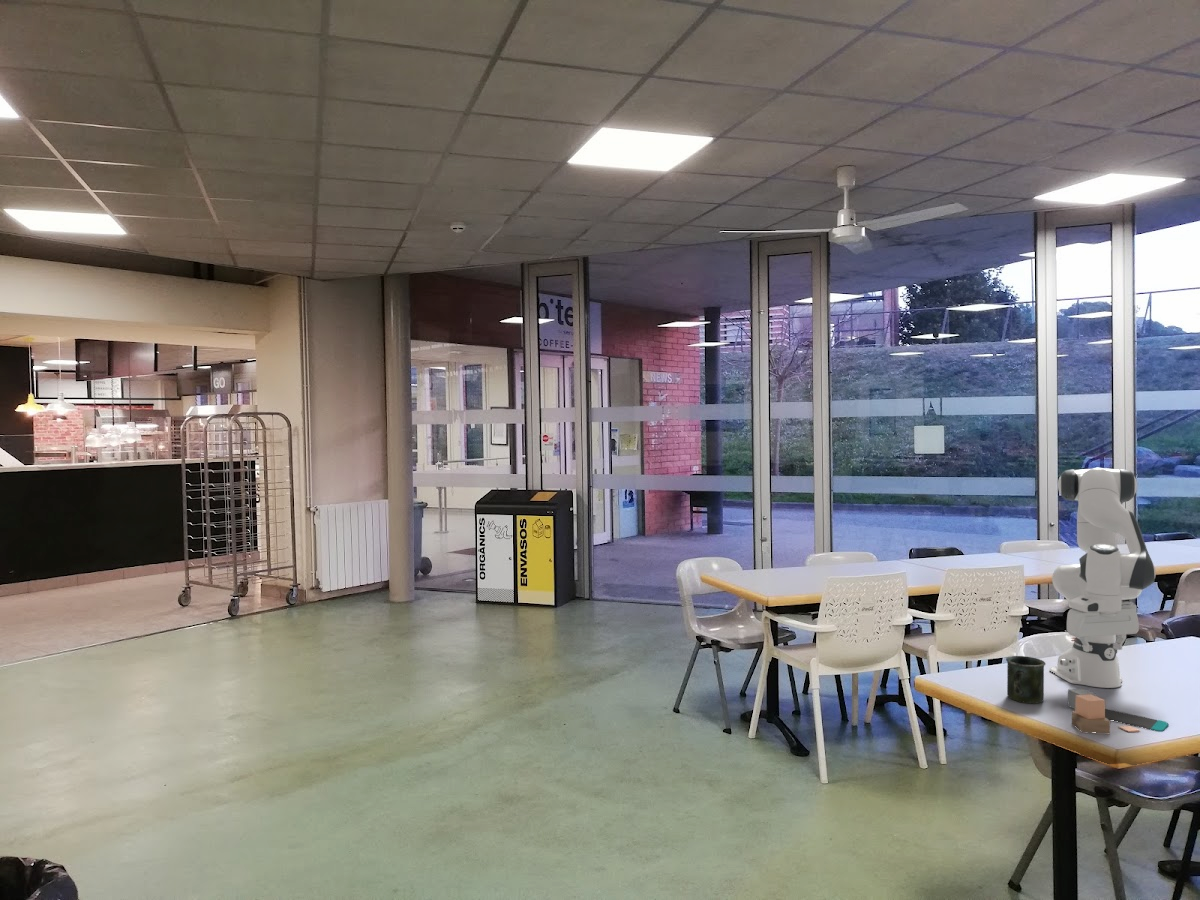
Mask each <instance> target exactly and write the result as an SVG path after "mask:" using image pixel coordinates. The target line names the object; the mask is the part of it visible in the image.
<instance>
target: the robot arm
mask: <svg viewBox="0 0 1200 900" xmlns="http://www.w3.org/2000/svg"><path fill="white" fill-rule="evenodd" d="M1057 490H1058V492H1059V494H1060V496H1061V498H1062V499H1064V500H1067V501H1071V502H1075V501H1077V502H1078V503H1077V504H1078V506H1077V515H1076V544H1077V545H1078V547H1079V549H1080V550H1081V551H1083V552H1085V554H1083V555H1082V556H1081V557H1080V558H1079V559H1078V560H1079V563H1080V564H1079V563H1073V564H1072V563H1071V564H1063V565H1062V564H1061V565H1059V566H1057V567H1056V568H1055V570H1054V571H1053V573H1052V576H1051V581H1052V582H1051V583H1052V586H1053V588H1054V589H1055V591H1056V592H1057V593H1059V594H1060V595H1061V596H1062V597H1064V598H1065V599H1066V600H1067V601H1068V604H1067V605H1068V608H1070V609H1069V610H1068V612H1067V617H1066V632H1067V634H1069V635H1070V636H1073V637H1070V639H1071V640H1070V642H1073V644H1072V647H1070V648H1068V649H1067V650H1066V651H1063V652H1062V653H1060V654H1059V655H1058V658H1057V662H1056V664H1057V665H1056V666H1053V667H1050V668H1049V669H1048V671H1049V670H1050V671H1051V672H1050V671H1049V672H1050V673H1052V672H1053V673H1052V674H1054V673H1055V674H1054V675H1055V676H1057V677H1059V678H1061V679H1063V680H1065V681H1066V682H1067V683H1070V684H1074V685H1082V686H1088V687H1093V688H1094V687H1095V688H1107V689H1109V688H1111V689H1113V688H1114V689H1115V688H1120V687H1121V686H1122V682H1123V678H1122V677H1121V671H1120V664H1119V663H1120V662H1119V661H1120V660H1119V658H1118V655H1117V654H1118V651H1119V650H1121V651H1122V650H1123V644H1124V643H1125V641H1126V639H1127V635H1133V634H1135V635H1136V634H1137V633H1138V632H1139V631H1140V628H1139V627H1140V626H1139V617H1138V611H1137V610H1138V608H1137V605H1136V603H1134V602H1133V600H1134V599H1137V598H1138V597H1140V595H1141V593H1142V592H1143V590H1145V589H1147V588H1148V587H1150V586H1152V585H1153V584H1154V583H1155V579H1156V568H1155V565H1154V562H1153V560H1152V558H1151V556H1150V554H1149V552H1148V549H1147V546H1146V542H1145V539H1144V536H1143V534H1142V531H1141V528H1140V526H1139V522H1138V519H1137V518H1136V515H1135V514H1134V513H1133V512H1132V511H1130V510H1128V509H1127V508H1126V507H1124V505H1123V503H1126V502H1129V501H1130V500H1132V499H1133V498H1134V497H1135V495H1136V493H1137V490H1138V480H1137V479H1136V477H1135V474H1134V472H1133V471H1131V470H1128V469H1123V468H1119V469H1115V468H1106V467H1105V468H1104V467H1093V468H1084V469H1083V468H1081V469H1074V468H1072V469H1067V470H1066V469H1065V470H1064V471H1063V472H1061V474H1060V476H1059V478H1058V481H1057ZM1117 534H1119V536H1121V537H1123V539H1124V540H1125V543H1126V545H1127V549H1128V552H1129V553H1121V552H1120V549H1119V548H1118V543H1117ZM1131 600H1132V601H1131Z"/></svg>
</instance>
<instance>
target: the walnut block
mask: <svg viewBox="0 0 1200 900" xmlns="http://www.w3.org/2000/svg"><path fill="white" fill-rule="evenodd" d="M1071 724H1072V726H1073V727H1075V726H1076V727H1077V728H1078V729H1079V730H1078V729H1077V728H1076V727H1075V728H1076V729H1077V730H1078V731H1080V730H1081V731H1082V732H1096V733H1110V734H1111V729H1110V728H1111V727H1110V726H1111V721H1110V720H1108V719H1107V718H1106V717H1105V718H1097V719H1088V718H1085V717H1083V716H1081V715H1079V714H1077V713H1075V710H1071ZM1081 731H1080V732H1081ZM1082 732H1081V733H1082ZM1096 733H1095V734H1096Z"/></svg>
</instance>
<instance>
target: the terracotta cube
mask: <svg viewBox="0 0 1200 900" xmlns="http://www.w3.org/2000/svg"><path fill="white" fill-rule="evenodd" d="M1105 709H1106V700H1105V699H1103V698H1101V697H1098V696H1097V695H1095V696H1094V695H1091V694H1090V695H1076V703H1075V709H1074V711H1075V713H1077V714H1079V715H1081V716H1083V717H1085V718H1088V719H1097V718H1105Z"/></svg>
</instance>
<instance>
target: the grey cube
mask: <svg viewBox="0 0 1200 900" xmlns="http://www.w3.org/2000/svg"><path fill="white" fill-rule="evenodd" d="M1067 691H1068V692H1067V706H1068V705H1069V706H1068V707H1070V706H1071V707H1070V708H1072V707H1073V708H1072V709H1074V708H1075V703H1076V695H1090V694H1091V695H1094V696H1096V693H1094V692H1093V691H1090V690H1087V689H1085V688H1072V689H1070V688H1069V689H1068V690H1067Z"/></svg>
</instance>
